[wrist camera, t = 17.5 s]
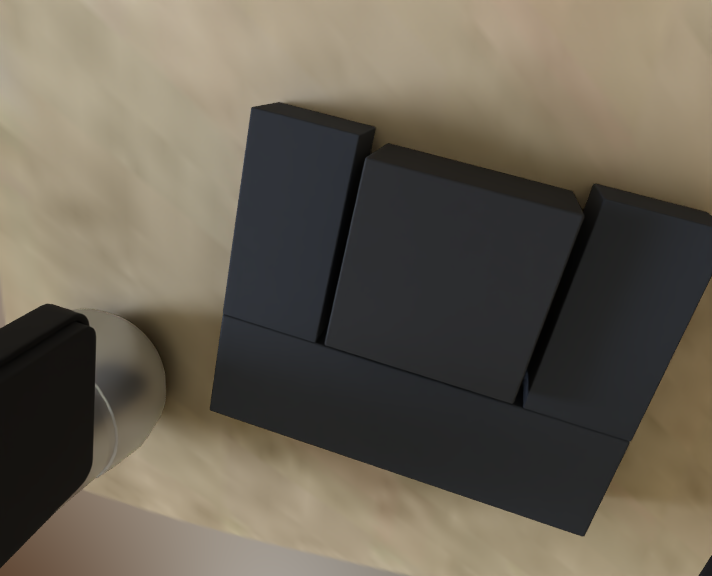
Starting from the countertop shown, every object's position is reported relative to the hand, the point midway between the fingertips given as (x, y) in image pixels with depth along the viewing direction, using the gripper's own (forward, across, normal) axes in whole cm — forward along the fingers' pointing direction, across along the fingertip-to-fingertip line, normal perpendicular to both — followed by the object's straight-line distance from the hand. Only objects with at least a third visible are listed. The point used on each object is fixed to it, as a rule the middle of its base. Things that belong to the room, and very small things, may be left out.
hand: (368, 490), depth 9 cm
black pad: (+14, 0, +1) cm, 14 cm away
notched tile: (+14, 0, +3) cm, 15 cm away
